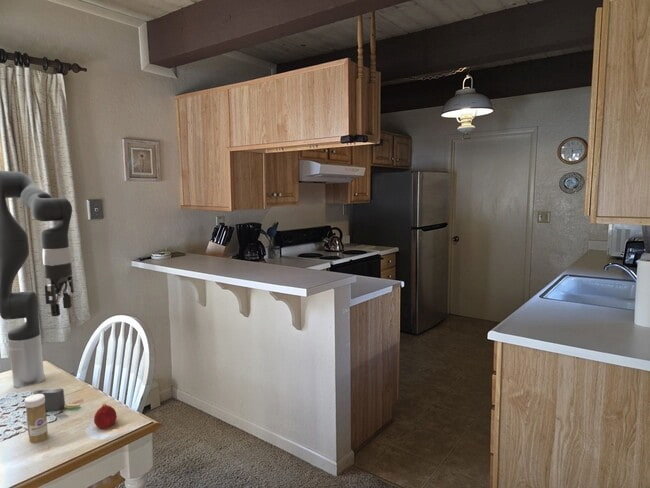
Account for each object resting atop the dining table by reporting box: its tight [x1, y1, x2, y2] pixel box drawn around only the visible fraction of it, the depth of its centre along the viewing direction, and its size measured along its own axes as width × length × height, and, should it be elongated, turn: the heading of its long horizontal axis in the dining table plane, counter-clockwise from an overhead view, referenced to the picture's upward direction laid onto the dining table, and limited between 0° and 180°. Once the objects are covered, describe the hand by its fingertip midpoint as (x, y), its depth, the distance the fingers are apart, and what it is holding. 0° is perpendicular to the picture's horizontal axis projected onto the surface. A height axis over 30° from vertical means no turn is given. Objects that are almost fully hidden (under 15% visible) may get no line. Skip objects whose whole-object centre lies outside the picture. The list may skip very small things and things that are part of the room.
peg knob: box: [32, 388, 81, 413], centre depth 133 cm, size 13×2×6 cm, turn 98°
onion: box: [93, 402, 118, 430], centre depth 124 cm, size 6×6×8 cm
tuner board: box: [54, 398, 85, 420], centre depth 133 cm, size 16×15×2 cm
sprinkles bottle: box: [24, 394, 49, 444], centre depth 117 cm, size 5×5×13 cm
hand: (62, 311), depth 137 cm, fingers open, 8 cm apart
